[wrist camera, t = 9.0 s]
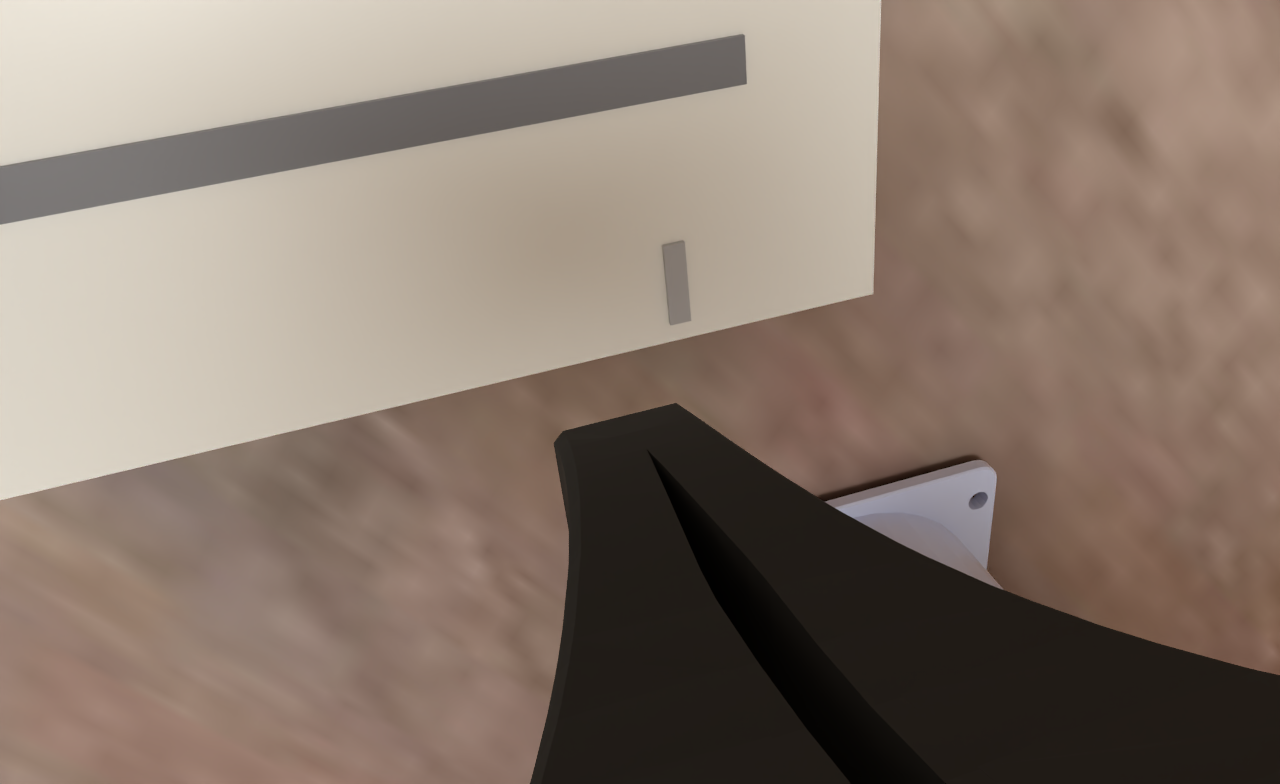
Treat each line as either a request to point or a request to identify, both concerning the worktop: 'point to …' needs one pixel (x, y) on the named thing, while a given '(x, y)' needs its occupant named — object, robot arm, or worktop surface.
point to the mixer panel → (400, 202)
